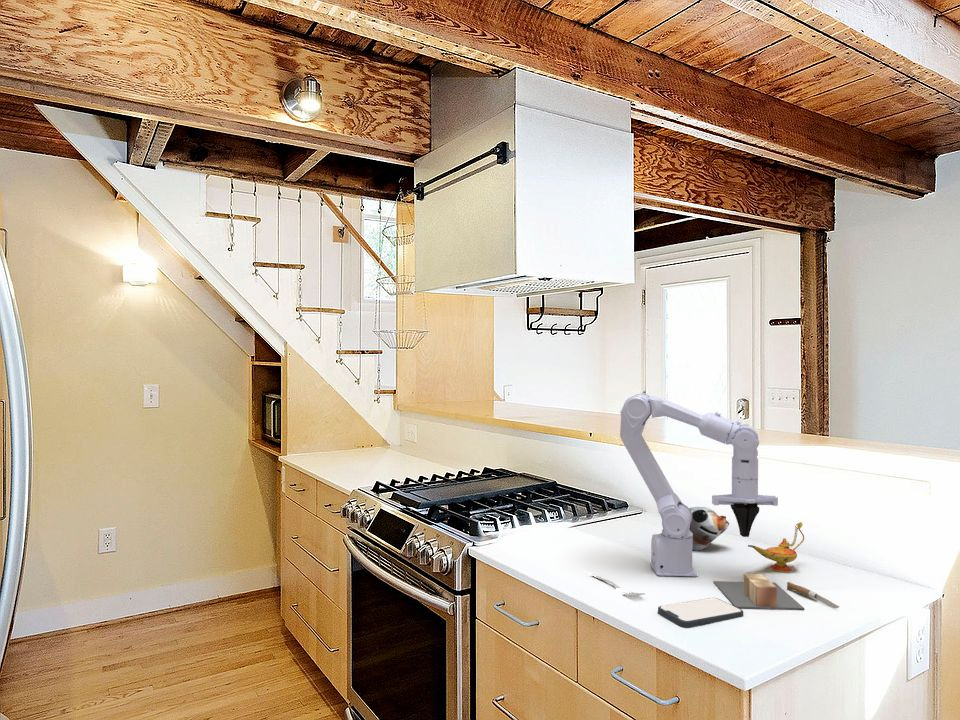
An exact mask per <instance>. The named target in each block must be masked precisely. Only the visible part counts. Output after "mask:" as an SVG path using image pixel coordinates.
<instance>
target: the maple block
mask: <svg viewBox="0 0 960 720" xmlns="http://www.w3.org/2000/svg"><path fill="white" fill-rule="evenodd" d="M742 582H743V592H744V593H745V594H746V595H747V596H748V597H749V598H750V599H751V600H752V601H753V602H754V603H755V605H756V606H773V607H777V587H776V586H775V585H773V584H772V583H771V580H769V579H768V578H766V576H764V574H761V573H760V574H758V573H757V574H756V573H755V574H754V573H743V581H742Z"/></svg>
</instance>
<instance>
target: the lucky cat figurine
mask: <svg viewBox="0 0 960 720" xmlns="http://www.w3.org/2000/svg"><path fill="white" fill-rule="evenodd" d="M688 508H689V509H690V510H691V512H692V521H691V523H690V528H689V529H690V531H691V532H692V533H693V547H692V550H693V551H694V552H701V551H703V550H704V549H705V548H708V546H709V545H710V544H712V542H713V541H715V540H716V539H717V538H718V537H719V536H721V534H723V533H724V532H725V531H726V530H728V528H729V525H730V522H729V520H727V517H726V516H725V515H719V514H717V513H716V512H715V510H712V508H709V507H706V506H693V507H688ZM693 551H692V552H693Z"/></svg>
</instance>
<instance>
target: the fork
mask: <svg viewBox="0 0 960 720" xmlns="http://www.w3.org/2000/svg"><path fill="white" fill-rule="evenodd" d="M597 578H598V580H602V581H604V582H607V583H610V584H612V586H613V587H614V589H615V588H621V587H620V586H619V585H617V584H616V583H615V582H614V581H611V580H609V579H606V578H604V577H601V576H599V575H597V576H596V578H595V579H597ZM630 592H631V593H630ZM630 592H629V594H628V593H626V592H625V593H626V594H623V595H622V596H624V595H625V596H628V597H629V596H630V597H636V596H642V595H646V593H641V592H640V593H639V592H632V591H630ZM625 596H624V597H625Z"/></svg>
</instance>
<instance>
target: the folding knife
mask: <svg viewBox="0 0 960 720" xmlns="http://www.w3.org/2000/svg"><path fill="white" fill-rule="evenodd" d="M786 583H787V585H786V590H788V591H789V590H790V591H795V592H797V593H799V594H800V595H801V594H802V595H804V596H807V597H809V598H811V599H815V600H816V601H819V602H820V603H822V604H824V605H825V606H828V607H830V608H832V609H839V608H840V606H839V605H837V604H836V603H834V602H832V601H831V600H829V599H828V598H825V597H823V596H822V595H820V594H818V593H816V592H814V591H812V590H810V589H808V588H806V587H803V586H801V585H798V584H794V583H792V582H791V581H787V582H786Z"/></svg>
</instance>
